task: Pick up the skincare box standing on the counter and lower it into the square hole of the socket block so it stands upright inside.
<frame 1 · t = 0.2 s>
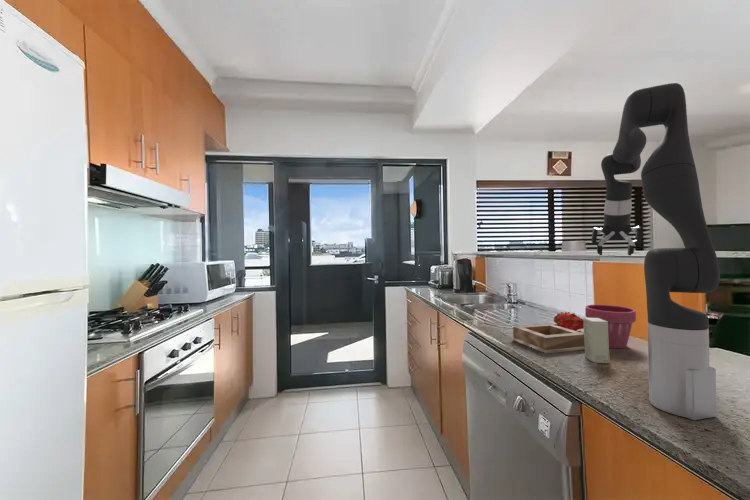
hand: (614, 254, 117), 31 cm above the countertop, tool tilted 20°, fingers open, 8 cm apart
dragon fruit: (570, 331, 130), on the countertop
socket block: (548, 344, 112), on the countertop
plant pot: (610, 345, 111), on the countertop
skincare box: (596, 360, 96), on the countertop
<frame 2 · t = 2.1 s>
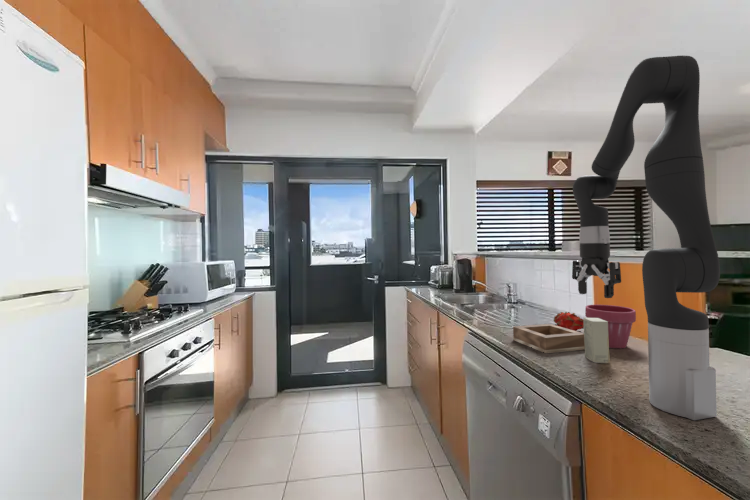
hand: (595, 295, 96), 19 cm above the countertop, tool pointing down, fingers open, 8 cm apart
nothing on the countertop moved.
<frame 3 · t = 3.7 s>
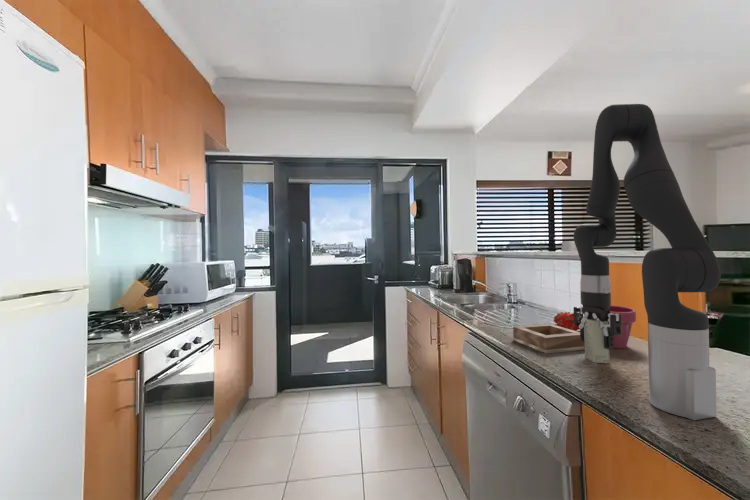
hand: (596, 344, 96), 4 cm above the countertop, tool pointing down, fingers closed on skincare box, 7 cm apart
skincare box: (596, 360, 96), on the countertop, touching gripper
everything else where it was.
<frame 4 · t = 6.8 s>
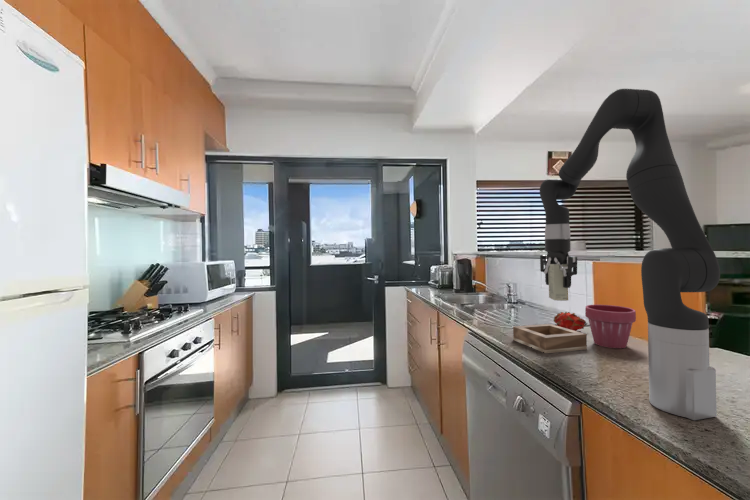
hand: (557, 286, 109), 21 cm above the countertop, tool pointing down, fingers closed on skincare box, 7 cm apart
skincare box: (557, 299, 109), point 16 cm above the countertop, touching gripper
everything else where it was.
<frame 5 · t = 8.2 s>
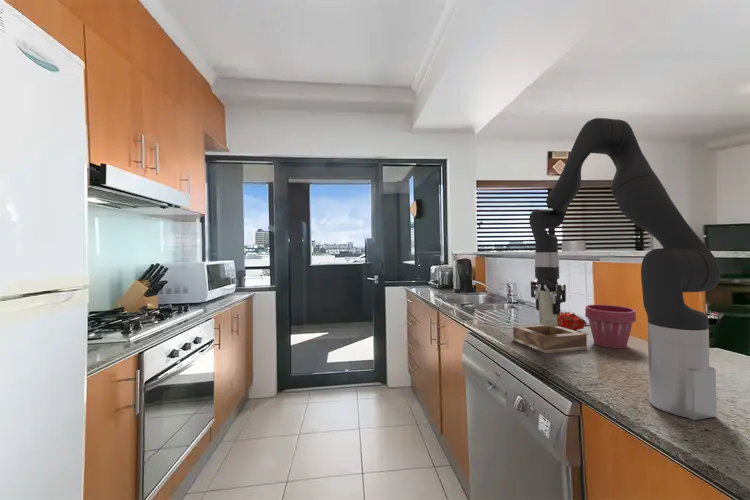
hand: (547, 312, 112), 11 cm above the countertop, tool pointing down, fingers closed on skincare box, 7 cm apart
skincare box: (547, 325, 112), point 7 cm above the countertop, touching gripper
everything else where it was.
when the fingers open (7 cm above the countertop, at t = 9.8 s): skincare box drops 1 cm, resting on socket block.
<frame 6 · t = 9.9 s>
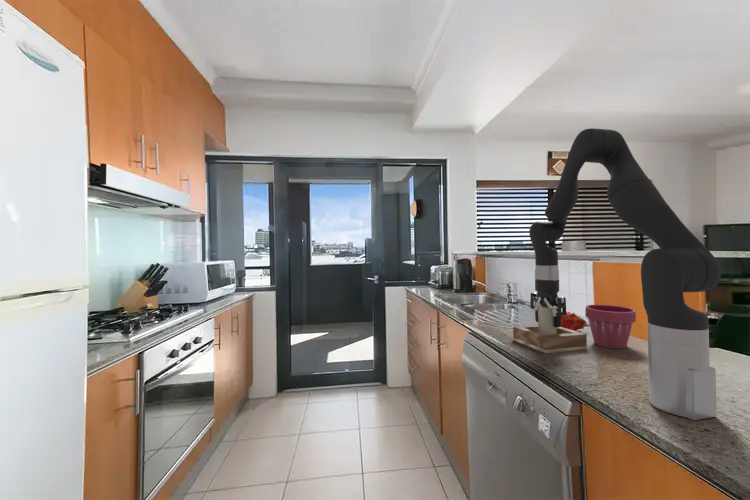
hand: (547, 324, 112), 7 cm above the countertop, tool pointing down, fingers open, 8 cm apart
skincare box: (547, 341, 112), point 1 cm above the countertop, touching socket block
everything else where it was.
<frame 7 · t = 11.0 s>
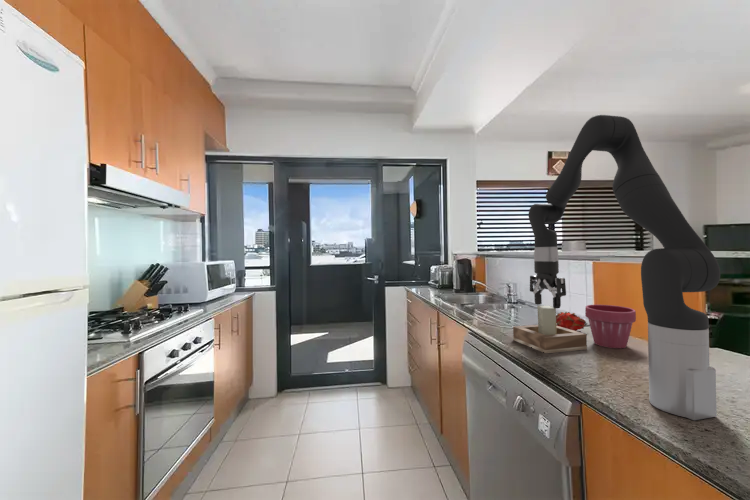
hand: (547, 306, 112), 13 cm above the countertop, tool pointing down, fingers open, 8 cm apart
nothing on the countertop moved.
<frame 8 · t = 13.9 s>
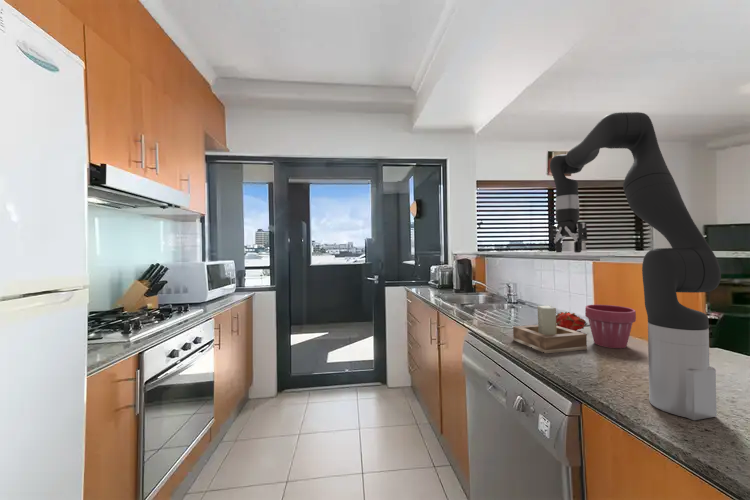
hand: (568, 252, 118), 32 cm above the countertop, tool pointing down, fingers open, 8 cm apart
nothing on the countertop moved.
at the end: skincare box inside the target area on the socket block (0.3 cm from its centre), point 0.8 cm above the socket block's base; skincare box tilted 0°; the gripper is holding nothing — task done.
